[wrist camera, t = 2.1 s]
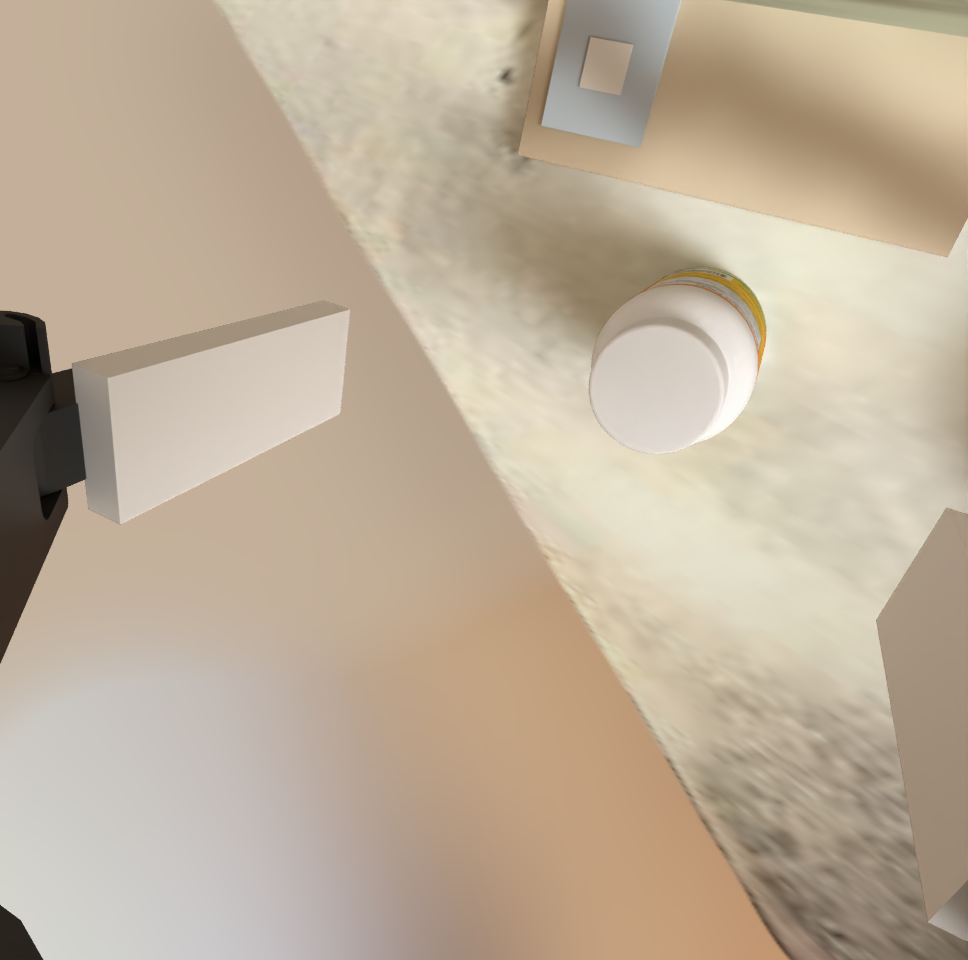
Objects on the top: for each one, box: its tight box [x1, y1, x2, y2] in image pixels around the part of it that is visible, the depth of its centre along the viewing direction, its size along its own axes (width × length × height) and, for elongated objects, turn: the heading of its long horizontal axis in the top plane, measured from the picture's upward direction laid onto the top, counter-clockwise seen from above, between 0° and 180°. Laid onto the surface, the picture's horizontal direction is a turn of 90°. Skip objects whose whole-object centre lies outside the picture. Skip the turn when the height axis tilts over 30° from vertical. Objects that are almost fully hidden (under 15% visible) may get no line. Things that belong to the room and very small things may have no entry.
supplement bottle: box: [589, 268, 766, 454], centre depth 24 cm, size 5×5×10 cm
